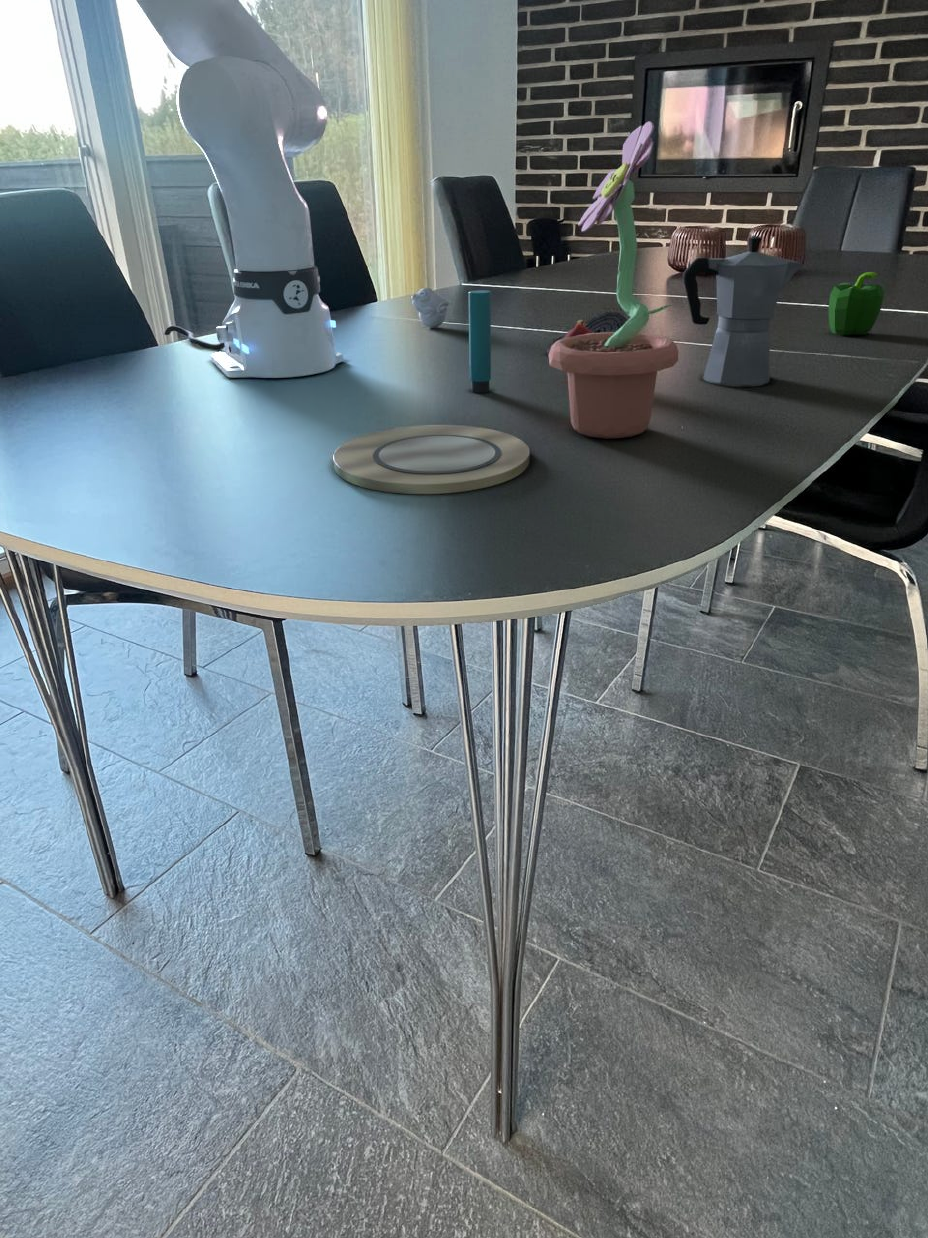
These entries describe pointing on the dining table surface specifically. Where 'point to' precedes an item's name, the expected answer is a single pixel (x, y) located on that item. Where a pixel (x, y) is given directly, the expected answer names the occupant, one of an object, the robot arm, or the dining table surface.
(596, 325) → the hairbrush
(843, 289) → the bell pepper
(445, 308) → the crumpled paper ball
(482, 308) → the marker
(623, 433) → the decorative flower
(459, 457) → the round wooden trivet
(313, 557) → the dining table surface
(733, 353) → the coffeepot
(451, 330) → the dining table surface
